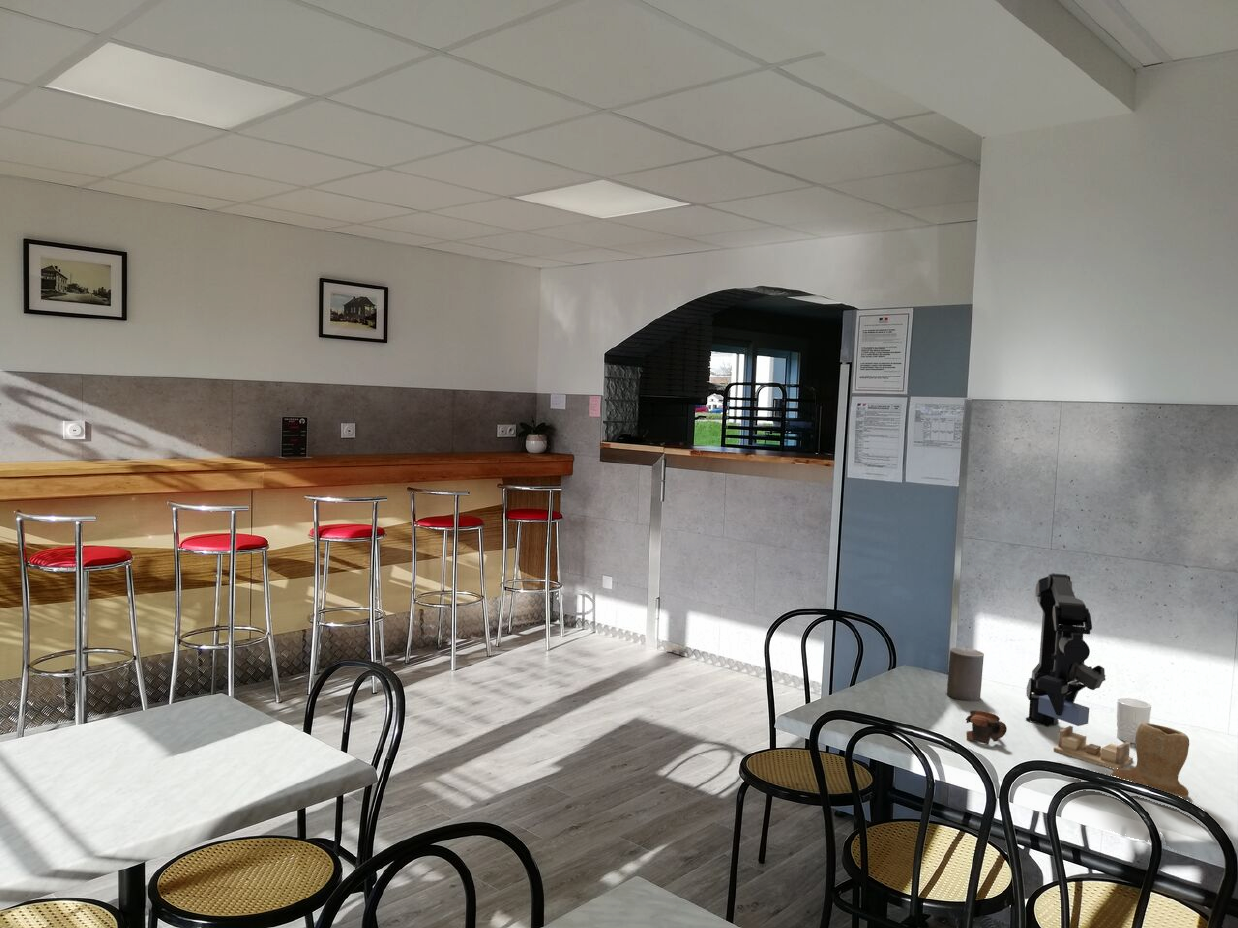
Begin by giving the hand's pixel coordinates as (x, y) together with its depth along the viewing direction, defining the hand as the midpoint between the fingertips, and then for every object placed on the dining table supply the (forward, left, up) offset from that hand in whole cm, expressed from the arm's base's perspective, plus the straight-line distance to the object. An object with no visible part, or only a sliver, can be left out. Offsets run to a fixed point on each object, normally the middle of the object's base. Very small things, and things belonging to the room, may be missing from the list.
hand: (1063, 713), depth 230 cm
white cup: (+6, +29, -11) cm, 32 cm away
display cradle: (+5, +7, -11) cm, 14 cm away
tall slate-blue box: (0, 0, -1) cm, 1 cm away
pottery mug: (-17, -5, -11) cm, 21 cm away
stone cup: (+22, -4, -11) cm, 25 cm away
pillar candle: (-40, +26, -11) cm, 49 cm away
